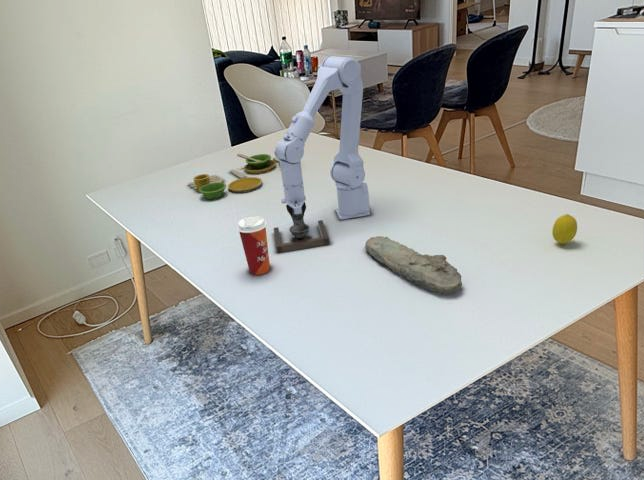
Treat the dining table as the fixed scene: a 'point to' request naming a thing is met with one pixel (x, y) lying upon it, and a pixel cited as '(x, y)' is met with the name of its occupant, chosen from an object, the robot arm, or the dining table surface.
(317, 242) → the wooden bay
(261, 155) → the tableware set
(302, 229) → the salt shaker
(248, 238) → the paper cup
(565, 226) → the lemon
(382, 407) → the dining table surface
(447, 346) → the dining table surface
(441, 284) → the elongated rock
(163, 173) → the dining table surface
